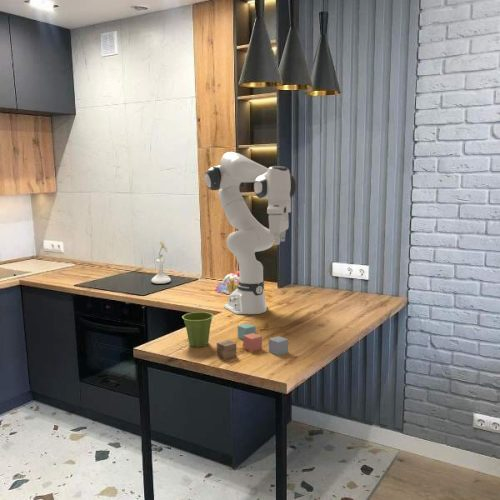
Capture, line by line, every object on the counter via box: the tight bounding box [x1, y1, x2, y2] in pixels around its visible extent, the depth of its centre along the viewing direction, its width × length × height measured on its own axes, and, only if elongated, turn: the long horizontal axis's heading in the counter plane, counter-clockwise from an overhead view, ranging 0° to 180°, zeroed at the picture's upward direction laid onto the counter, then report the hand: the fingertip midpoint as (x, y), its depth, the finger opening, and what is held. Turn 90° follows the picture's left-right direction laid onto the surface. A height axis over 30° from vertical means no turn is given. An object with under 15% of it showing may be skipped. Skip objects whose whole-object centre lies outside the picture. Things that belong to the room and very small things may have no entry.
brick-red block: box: [242, 333, 263, 353], centre depth 191 cm, size 5×5×5 cm
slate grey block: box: [268, 335, 289, 356], centre depth 187 cm, size 5×5×5 cm
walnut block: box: [216, 339, 237, 360], centre depth 183 cm, size 5×5×5 cm
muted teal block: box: [237, 323, 257, 340], centre depth 203 cm, size 5×5×5 cm
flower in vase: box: [150, 240, 172, 285], centre depth 300 cm, size 13×11×25 cm
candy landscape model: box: [214, 270, 240, 295], centre depth 284 cm, size 25×24×9 cm
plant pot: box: [181, 311, 214, 348], centre depth 195 cm, size 12×12×11 cm
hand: (279, 243), depth 201 cm, fingers open, 8 cm apart
